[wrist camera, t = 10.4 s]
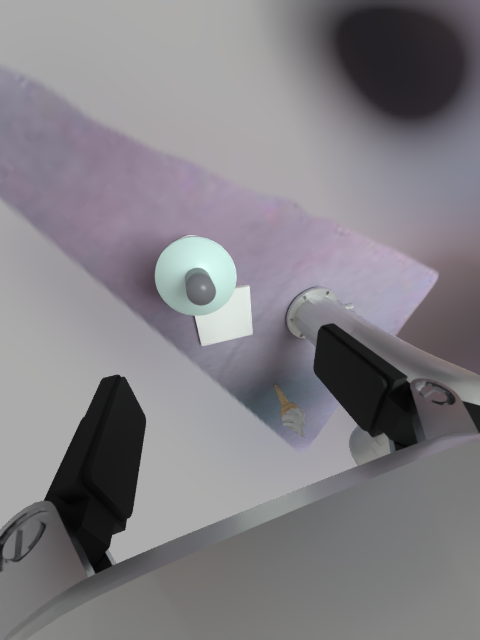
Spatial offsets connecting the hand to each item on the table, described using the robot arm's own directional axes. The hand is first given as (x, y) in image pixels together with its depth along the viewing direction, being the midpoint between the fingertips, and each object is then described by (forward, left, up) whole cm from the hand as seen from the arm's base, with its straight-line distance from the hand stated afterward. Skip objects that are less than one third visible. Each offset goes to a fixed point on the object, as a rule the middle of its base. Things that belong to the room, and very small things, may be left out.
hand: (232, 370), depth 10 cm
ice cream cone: (-15, +36, -29) cm, 48 cm away
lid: (0, 0, -16) cm, 16 cm away
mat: (-4, +12, -28) cm, 31 cm away
